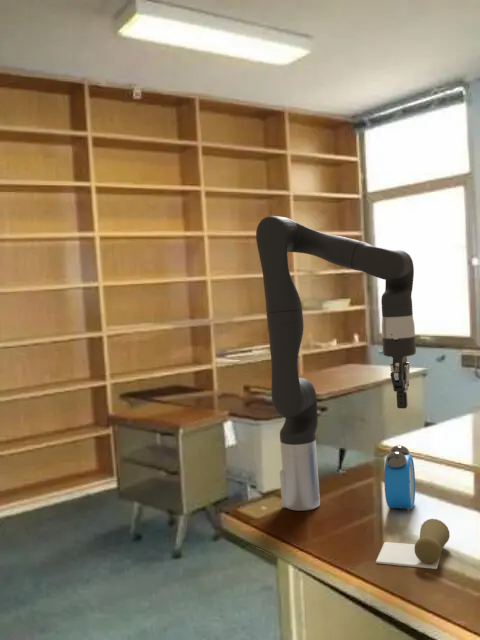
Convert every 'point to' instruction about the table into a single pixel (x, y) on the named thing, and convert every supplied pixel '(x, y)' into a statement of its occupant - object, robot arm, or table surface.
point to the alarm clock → (399, 478)
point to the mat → (402, 556)
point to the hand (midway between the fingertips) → (402, 407)
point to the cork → (431, 541)
